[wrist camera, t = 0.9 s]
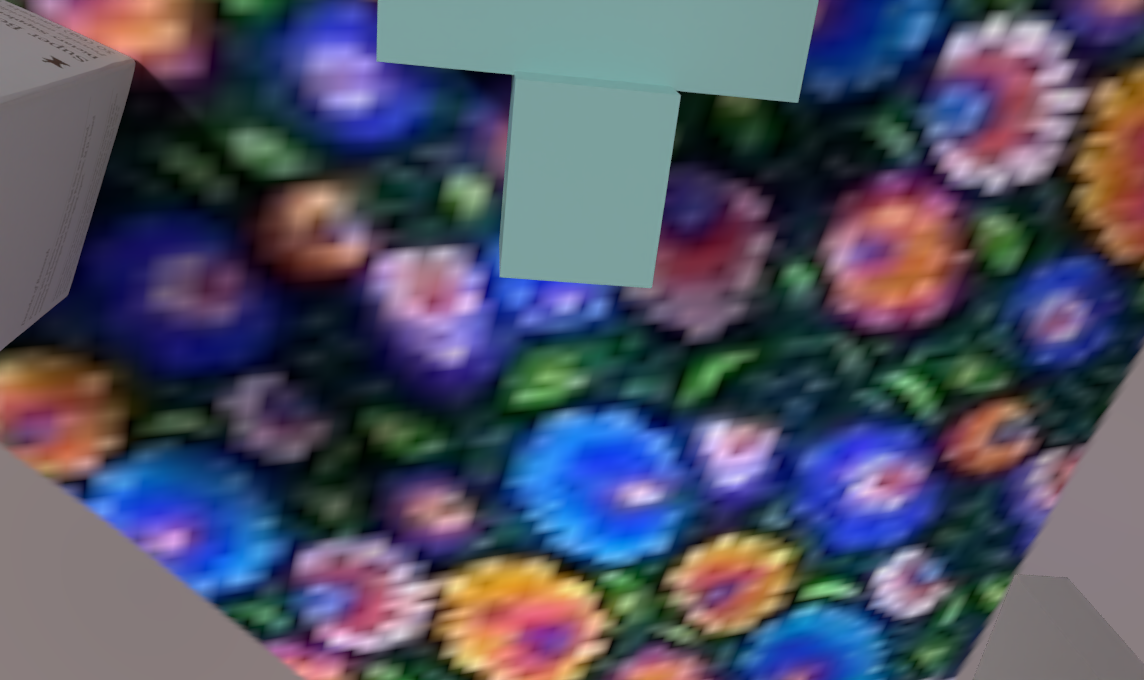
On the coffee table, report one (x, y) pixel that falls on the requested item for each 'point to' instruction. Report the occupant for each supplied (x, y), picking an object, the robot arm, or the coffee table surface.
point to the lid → (599, 108)
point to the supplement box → (50, 156)
